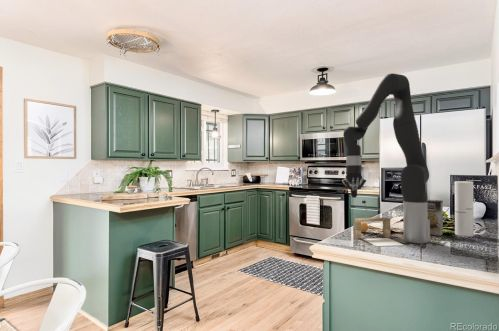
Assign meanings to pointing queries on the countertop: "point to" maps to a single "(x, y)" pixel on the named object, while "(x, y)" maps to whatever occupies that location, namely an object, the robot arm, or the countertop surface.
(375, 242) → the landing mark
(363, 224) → the ball
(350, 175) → the robot arm
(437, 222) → the coffee box
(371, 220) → the bridge
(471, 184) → the cylindrical container
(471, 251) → the countertop surface
